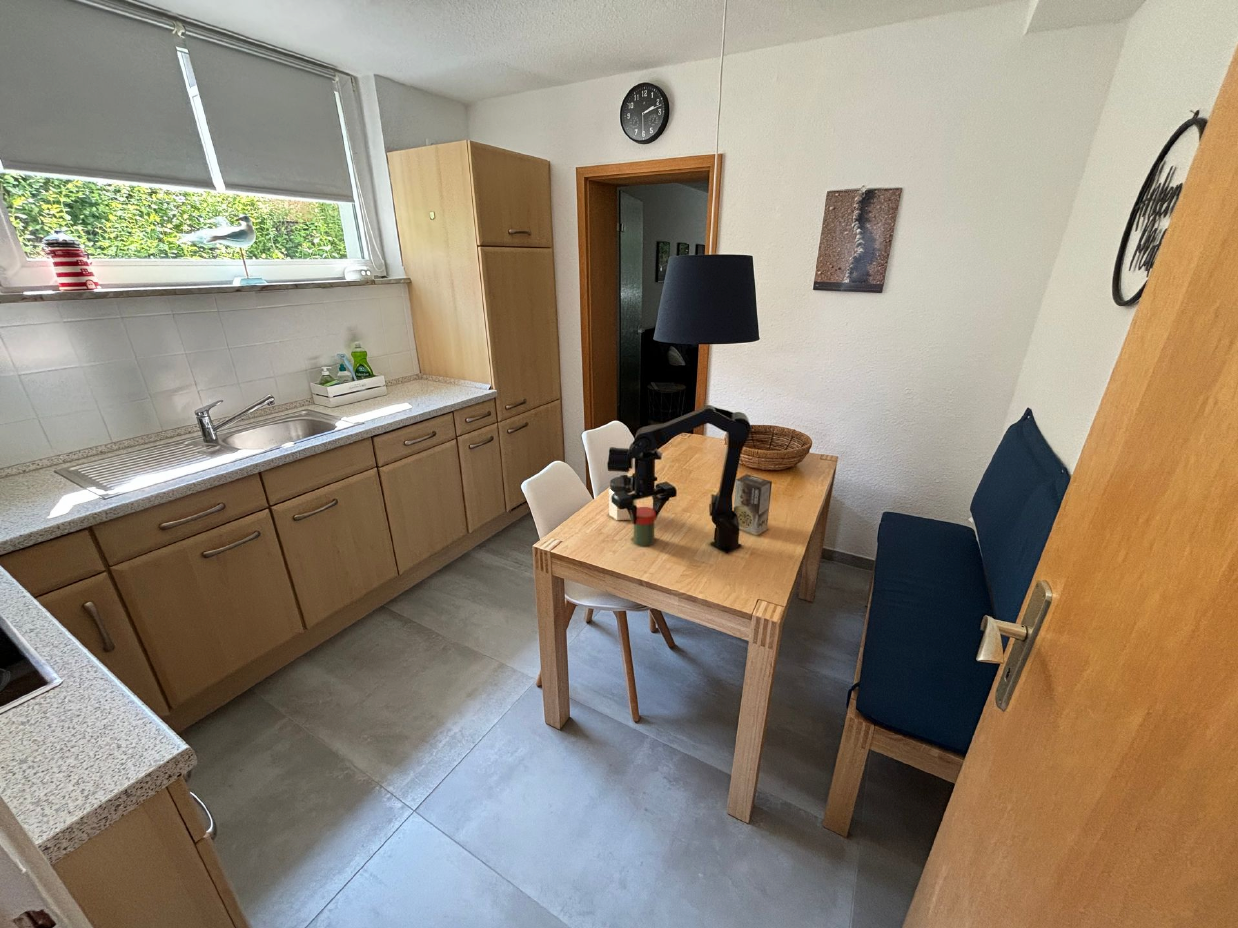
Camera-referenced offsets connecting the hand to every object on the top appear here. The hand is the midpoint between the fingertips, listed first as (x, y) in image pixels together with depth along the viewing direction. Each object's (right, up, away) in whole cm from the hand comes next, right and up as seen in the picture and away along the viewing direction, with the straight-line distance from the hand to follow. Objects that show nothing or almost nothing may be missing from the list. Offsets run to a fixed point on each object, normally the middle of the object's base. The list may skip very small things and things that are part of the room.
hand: (644, 521), depth 146 cm
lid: (0, +2, -1) cm, 3 cm away
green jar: (0, -6, +2) cm, 6 cm away
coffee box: (+33, -3, +9) cm, 35 cm away
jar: (-6, 0, +18) cm, 19 cm away
